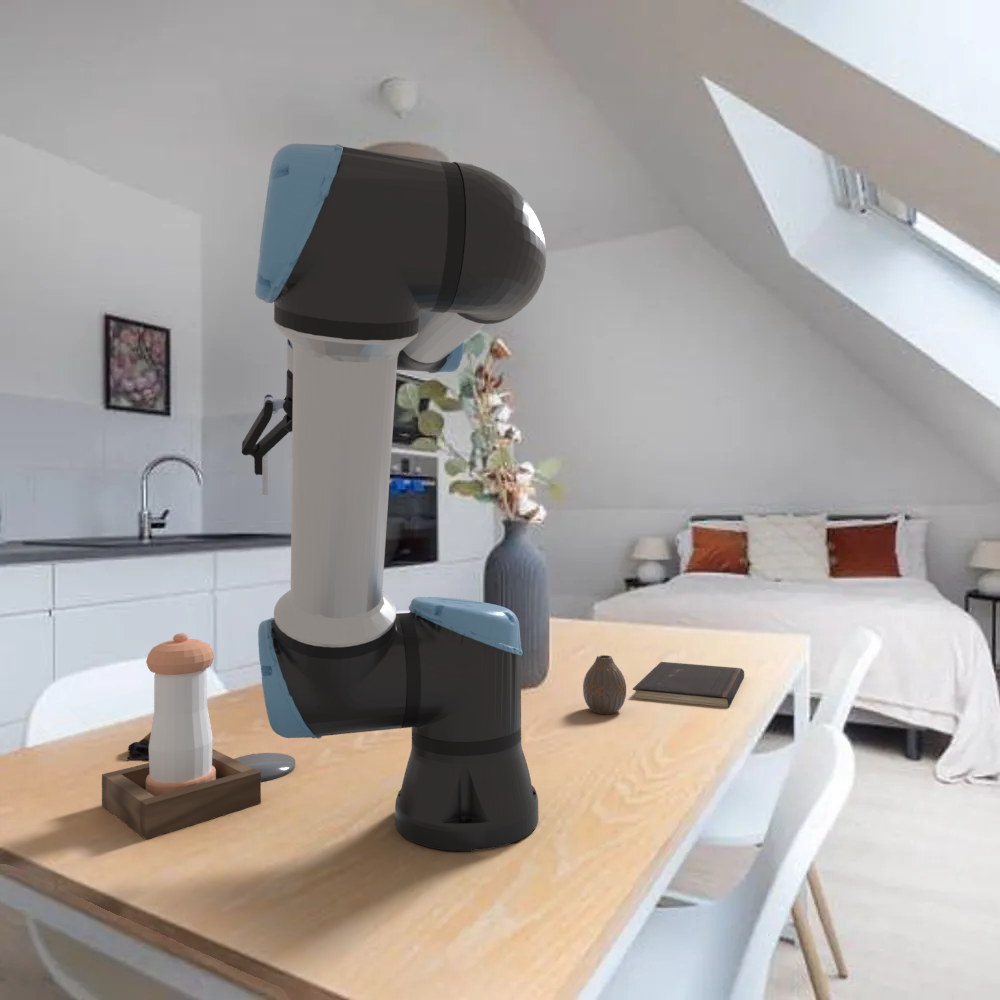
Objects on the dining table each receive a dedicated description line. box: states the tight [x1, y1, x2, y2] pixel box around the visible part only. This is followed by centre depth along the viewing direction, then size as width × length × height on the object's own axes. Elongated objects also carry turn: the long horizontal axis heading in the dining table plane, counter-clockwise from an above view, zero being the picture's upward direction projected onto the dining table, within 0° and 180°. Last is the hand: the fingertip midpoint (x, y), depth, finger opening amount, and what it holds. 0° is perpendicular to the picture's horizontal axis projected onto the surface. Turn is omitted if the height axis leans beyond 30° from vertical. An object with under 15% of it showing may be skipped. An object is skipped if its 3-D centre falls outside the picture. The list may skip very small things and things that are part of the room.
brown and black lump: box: [125, 731, 151, 762], centre depth 104 cm, size 11×8×4 cm
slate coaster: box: [234, 752, 296, 782], centre depth 95 cm, size 9×9×1 cm
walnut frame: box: [101, 748, 262, 840], centre depth 84 cm, size 12×12×4 cm
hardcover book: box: [632, 661, 745, 708], centre depth 136 cm, size 16×23×2 cm
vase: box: [582, 654, 627, 715], centre depth 121 cm, size 7×7×9 cm
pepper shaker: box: [145, 632, 216, 796], centre depth 84 cm, size 7×7×19 cm
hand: (309, 490), depth 121 cm, fingers open, 13 cm apart
